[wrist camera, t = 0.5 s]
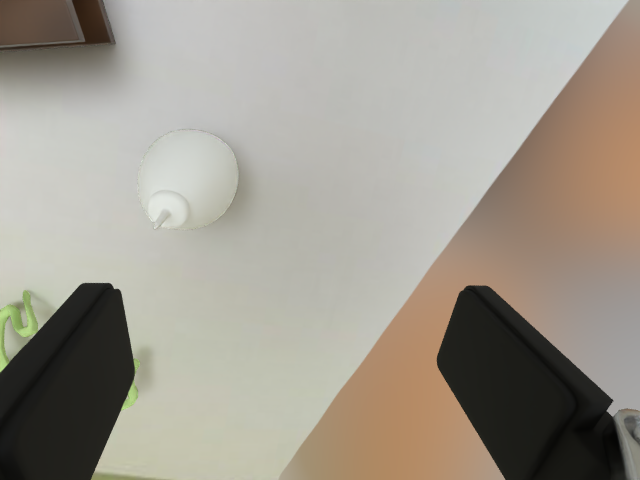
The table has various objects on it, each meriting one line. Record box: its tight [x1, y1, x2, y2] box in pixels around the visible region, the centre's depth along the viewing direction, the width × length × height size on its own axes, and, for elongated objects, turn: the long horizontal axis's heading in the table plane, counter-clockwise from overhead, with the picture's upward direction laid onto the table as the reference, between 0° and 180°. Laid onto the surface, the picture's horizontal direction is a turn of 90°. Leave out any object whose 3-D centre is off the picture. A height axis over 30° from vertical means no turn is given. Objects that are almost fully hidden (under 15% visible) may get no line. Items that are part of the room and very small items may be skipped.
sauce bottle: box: [137, 129, 239, 230], centre depth 27 cm, size 8×8×18 cm
